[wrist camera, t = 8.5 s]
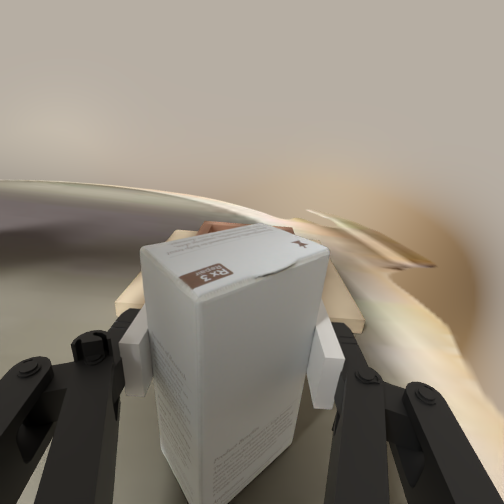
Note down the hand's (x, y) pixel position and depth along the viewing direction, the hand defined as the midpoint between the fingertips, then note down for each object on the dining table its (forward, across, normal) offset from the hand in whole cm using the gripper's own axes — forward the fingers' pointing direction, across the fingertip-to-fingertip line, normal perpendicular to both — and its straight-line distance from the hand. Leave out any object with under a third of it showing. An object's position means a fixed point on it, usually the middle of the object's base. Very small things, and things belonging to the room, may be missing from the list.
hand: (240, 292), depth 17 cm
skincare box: (-5, 0, -7) cm, 9 cm away
